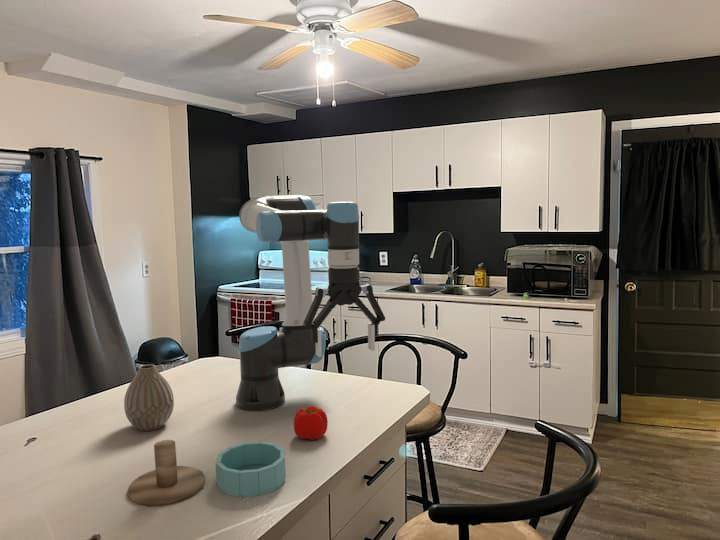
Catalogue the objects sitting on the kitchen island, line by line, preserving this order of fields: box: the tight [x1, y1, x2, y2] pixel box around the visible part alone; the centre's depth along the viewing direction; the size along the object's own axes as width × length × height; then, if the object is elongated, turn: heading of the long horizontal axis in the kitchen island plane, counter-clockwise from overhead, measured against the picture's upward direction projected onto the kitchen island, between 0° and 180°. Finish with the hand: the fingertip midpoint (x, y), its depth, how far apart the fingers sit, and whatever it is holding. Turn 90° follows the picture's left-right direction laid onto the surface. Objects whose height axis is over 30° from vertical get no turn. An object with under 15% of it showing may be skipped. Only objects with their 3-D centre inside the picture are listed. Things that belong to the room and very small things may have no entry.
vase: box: [123, 363, 175, 432], centre depth 157 cm, size 13×13×18 cm
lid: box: [127, 439, 206, 507], centre depth 122 cm, size 16×16×10 cm
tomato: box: [293, 405, 329, 441], centre depth 149 cm, size 9×9×8 cm
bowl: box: [215, 441, 287, 498], centre depth 125 cm, size 15×15×6 cm
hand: (345, 352), depth 137 cm, fingers open, 13 cm apart
